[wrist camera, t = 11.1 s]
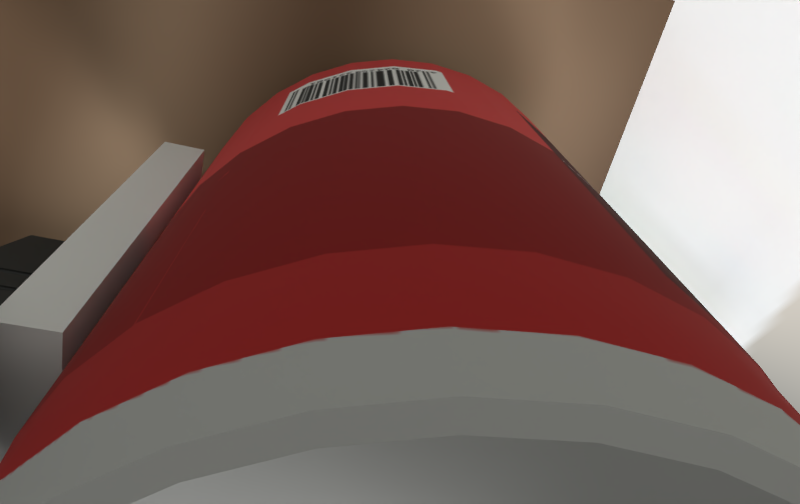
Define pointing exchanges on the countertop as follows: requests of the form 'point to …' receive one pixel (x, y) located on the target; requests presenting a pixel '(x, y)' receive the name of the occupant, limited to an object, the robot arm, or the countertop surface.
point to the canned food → (403, 330)
